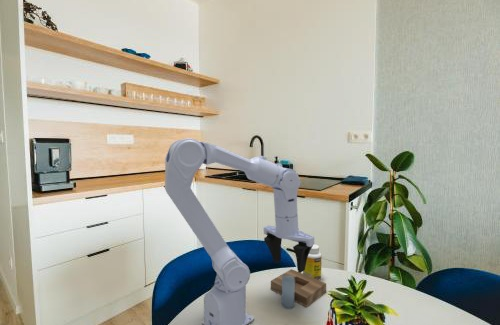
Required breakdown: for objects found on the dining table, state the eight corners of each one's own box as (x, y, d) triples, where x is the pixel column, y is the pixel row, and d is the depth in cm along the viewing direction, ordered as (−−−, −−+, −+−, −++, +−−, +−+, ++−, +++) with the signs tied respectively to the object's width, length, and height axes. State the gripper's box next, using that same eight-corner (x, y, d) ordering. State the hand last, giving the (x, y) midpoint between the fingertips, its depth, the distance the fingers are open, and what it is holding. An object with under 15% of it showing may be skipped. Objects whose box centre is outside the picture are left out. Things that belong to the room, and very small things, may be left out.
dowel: (289, 310, 64) (289, 283, 64) (279, 304, 66) (279, 278, 66) (296, 304, 66) (297, 278, 66) (286, 299, 69) (287, 274, 68)
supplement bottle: (314, 284, 76) (315, 251, 76) (299, 277, 80) (299, 245, 80) (324, 278, 80) (325, 246, 79) (309, 272, 84) (309, 241, 83)
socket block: (306, 307, 65) (306, 297, 65) (270, 289, 74) (270, 280, 74) (326, 291, 72) (326, 283, 72) (291, 276, 81) (291, 269, 81)
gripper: (319, 215, 63) (322, 268, 64) (274, 207, 73) (276, 253, 74) (304, 223, 58) (306, 280, 59) (257, 213, 68) (260, 262, 69)
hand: (289, 266), depth 66 cm, fingers open, 7 cm apart
